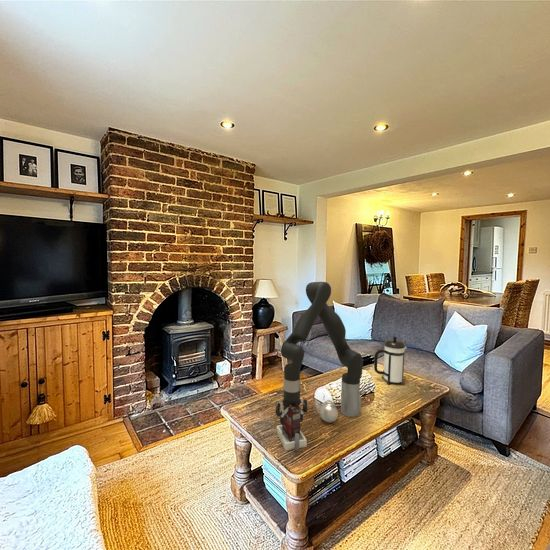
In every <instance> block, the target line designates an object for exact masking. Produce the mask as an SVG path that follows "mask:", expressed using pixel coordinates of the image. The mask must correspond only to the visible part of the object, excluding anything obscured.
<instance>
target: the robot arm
mask: <svg viewBox="0 0 550 550" xmlns="http://www.w3.org/2000/svg"><path fill="white" fill-rule="evenodd" d="M305 295H306V297H307V298H308V300H309V303H310V306H309V307H308V308H307V309H306V310H305V312H303V313H302V315H300V317H299V318H298V320H297V322H296V323H295V325H294V328H293V329H292V332H291V333H290V334H289V336H288V337H287V338H286V339H285V341H284V342H283V344H282V345H281V347H280V355H281V356H282V357H283V358H284V359H286V360H287V359H288V360H290V361H292V362H290V363H287V364H285V365H284V369H283V374H284V376H283V388H282V389H283V390H282V391H283V395H282V396H283V399H282V401H279V400H276V401H275V415H276V417H279V423H280V425H284V417H283V416H284V415H285V414H286V413H287V412H288V408H289V407H291V406H292V405H294V406H299V407H300V405H301V404H302V408H301V417H300V423H302V422H303V420H304V413H307V412H308V400H307V399H306V398H305V397H302V398H301V368H302V364H303V360H304V357H305V349H304V348H303V346H302V345H299V344H298V343H301V342H303V343H304V342H305V341H307V339H308V336H309V335H310V332H311V330H312V328H313V325H314V323H316V322H315V321H316V320H317V318H319V319H320V322H321V323H322V324H323V327H324V329H325V331H326V334H327V335H328V337H329V339H330V341H331V343H332V344H333V347H334V349H335V352H336V355H337V357H338V361H339V363H340V364H341V365H343V367H345V368H347V372H344V373H343V374H342V375H341V388H340V389H341V392H340V394H341V395H340V397H341V398H340V413H341V414H342V415H343V416H346V417H347V418H348V417H349V418H355V417H358V416H359V415H361V411H362V410H361V409H362V396H361V395H360V391H361V379H362V376H363V366H364V359H363V356H362V354H361V353H359V352H357V351H355V350H353V349H352V348H351V347H350V346H349V344H348V341H347V339H346V333H347V332H346V327H345V325H344V322H343V321H342V318H341V317H340V315H339V314H338V313H337V312H336V311H334V310H333V309H332V308H331V307H330V306H329V305H328V303H327V302H328V301H329V299H330V297H331V295H332V287H331V285H330V284H329V283H328V282H326V281H312V282H309V283H307V284H306V287H305ZM282 405H283V407H282ZM285 408H286V409H285Z"/></svg>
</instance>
